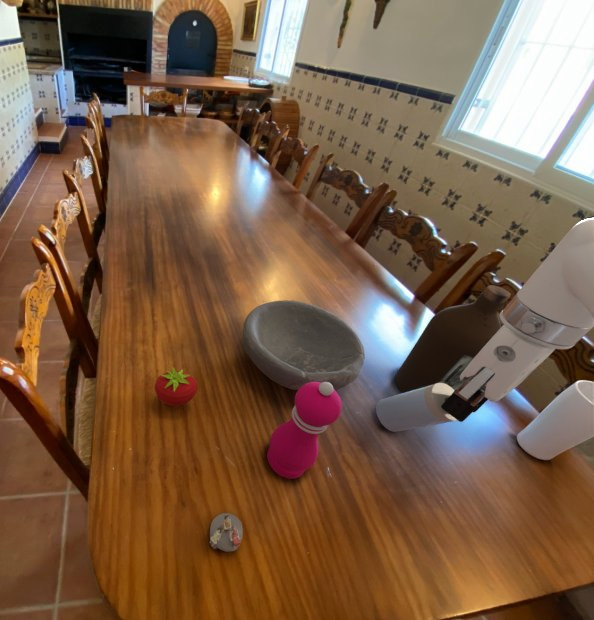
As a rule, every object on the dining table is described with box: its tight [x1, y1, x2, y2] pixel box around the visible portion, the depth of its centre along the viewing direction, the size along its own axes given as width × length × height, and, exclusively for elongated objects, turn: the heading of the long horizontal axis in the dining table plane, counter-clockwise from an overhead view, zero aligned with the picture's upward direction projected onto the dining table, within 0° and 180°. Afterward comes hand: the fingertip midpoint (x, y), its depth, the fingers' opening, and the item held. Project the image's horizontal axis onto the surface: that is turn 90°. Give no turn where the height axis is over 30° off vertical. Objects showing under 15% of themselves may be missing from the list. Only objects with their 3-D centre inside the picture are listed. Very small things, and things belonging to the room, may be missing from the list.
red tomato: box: [154, 366, 198, 407], centre depth 63 cm, size 6×8×10 cm
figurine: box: [209, 512, 243, 553], centre depth 48 cm, size 5×4×6 cm
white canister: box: [375, 383, 476, 433], centre depth 59 cm, size 6×6×16 cm
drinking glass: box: [516, 379, 594, 461], centre depth 60 cm, size 7×7×15 cm
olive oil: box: [394, 284, 512, 393], centre depth 65 cm, size 11×11×25 cm
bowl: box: [242, 299, 366, 391], centre depth 72 cm, size 23×22×10 cm
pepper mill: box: [266, 382, 343, 480], centre depth 53 cm, size 7×7×20 cm
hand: (458, 408), depth 55 cm, fingers closed on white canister, 3 cm apart
